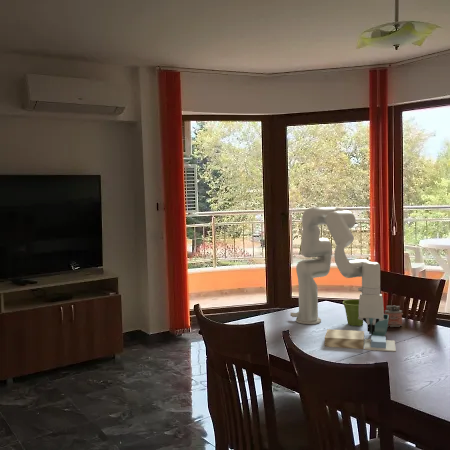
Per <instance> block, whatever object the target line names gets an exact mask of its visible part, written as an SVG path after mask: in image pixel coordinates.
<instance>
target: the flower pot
mask: <svg viewBox="0 0 450 450" xmlns="http://www.w3.org/2000/svg"><path fill="white" fill-rule="evenodd" d="M383 316H384V320H383V321H378V322H377V323H376V324H375V332H373V334H370V335H373V336H386V334H387V331H388V318H389V315H385V313H384V315H383ZM369 320H370V324H372V322H373V318H369Z"/></svg>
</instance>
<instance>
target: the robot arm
mask: <svg viewBox="0 0 450 450" xmlns="http://www.w3.org/2000/svg"><path fill="white" fill-rule="evenodd" d="M301 222H302V223H301V224H302V236H301V248H300V250H301V251H300V252H301V255H302V257H305V258H308V259H303V260H300V261H299V262H298V263H297V264H296V267H295V270H296V275H297V284H298V311H297V312H290V313H289V314H290V317H292V318H295V322H297V323H299V324H302V325H317V324H320V323H322V319H321V318H320V317H319V304H318V303H319V300H318V299H319V297H318V296H319V295H318V283H316V281H315V279H316V278H323V277H326V276H328V275H329V273H330V270H331V264H332V254H333V247H332V242H331V241H330V239H328V238H326V237H321V229H320V227H319V225H320V226H321V225H326V226H327V228H328V231H329V233H330V234H331V237H332V239H333V241H334V243H335V249H334V256H333V257H334V258H333V259H334V263H335V265H336V267H337V270H338V271H339V272H340V274H341V275H342V276H343V277H344V278H346V279H351V278H361V287H358V292H360V294H359V298H358V300H359V316H358V319H360V320H363V322H364V323H365V324H366V325H367V333H368V335H371V334H373V332H375V324H376V323H377V322H378V321H383V320H384V316H383V315H384V314H385V310H384V309H385V308H384V298H383V294H382V293H381V265H380V263H379V262H377V261H370V260H368V259H365V258H364V259H360V258H359V259H350V260H349V259H348V257H347V255H346V253H345V252H346V251H345V248H347V247H348V246H349V245H351V244H352V243H353V242H354V239H355V238H354V234H353V233H352V230H351V229H352V228H354V226H355V225H356V216H355V215H354V213H353V212H351V210H347V209H344V208H341V207H337V206H318V207H317V206H316V207H315V206H314V207H310V208H307V209H305V210H304V211H303V214H302V217H301ZM369 318H373V322H372V324H370V320H369Z"/></svg>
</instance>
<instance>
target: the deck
mask: <svg viewBox="0 0 450 450" xmlns="http://www.w3.org/2000/svg"><path fill="white" fill-rule="evenodd" d="M364 344H365V331H364V330H351V329H349V330H348V329H330V328H329V329H328V328H327V330H326V332H325V335H324V347H326V348H337V349H338V348H339V349H340V348H342V349H356V350H357V349H358V350H364Z"/></svg>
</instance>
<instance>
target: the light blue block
mask: <svg viewBox="0 0 450 450" xmlns="http://www.w3.org/2000/svg"><path fill="white" fill-rule="evenodd" d="M370 335H371V334H370ZM370 337H371V338H370V339H371V347H374V348H386V340H387V337H386V335H385V336H373V335H371V336H370Z"/></svg>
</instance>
